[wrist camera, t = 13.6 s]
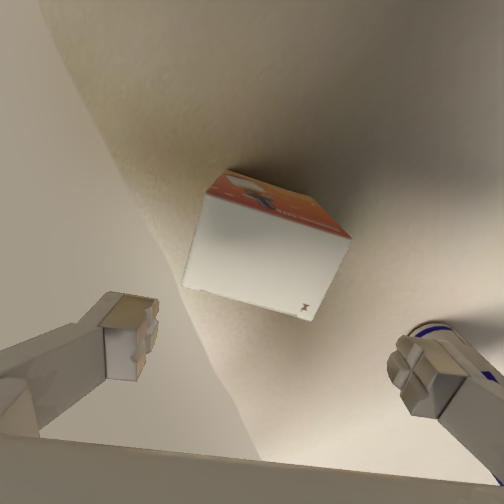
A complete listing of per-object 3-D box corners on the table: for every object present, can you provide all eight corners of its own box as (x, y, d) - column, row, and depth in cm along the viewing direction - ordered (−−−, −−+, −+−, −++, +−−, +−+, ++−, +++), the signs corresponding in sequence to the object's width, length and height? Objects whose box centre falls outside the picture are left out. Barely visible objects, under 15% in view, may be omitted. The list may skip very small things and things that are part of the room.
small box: (312, 196, 23) (359, 239, 13) (289, 252, 25) (314, 325, 15) (223, 166, 22) (203, 189, 12) (207, 228, 24) (178, 289, 14)
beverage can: (424, 313, 28) (595, 484, 14) (464, 330, 29) (661, 507, 15) (391, 349, 30) (513, 531, 16) (429, 365, 31) (576, 548, 17)
